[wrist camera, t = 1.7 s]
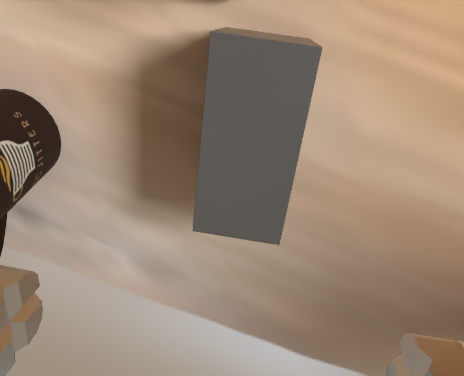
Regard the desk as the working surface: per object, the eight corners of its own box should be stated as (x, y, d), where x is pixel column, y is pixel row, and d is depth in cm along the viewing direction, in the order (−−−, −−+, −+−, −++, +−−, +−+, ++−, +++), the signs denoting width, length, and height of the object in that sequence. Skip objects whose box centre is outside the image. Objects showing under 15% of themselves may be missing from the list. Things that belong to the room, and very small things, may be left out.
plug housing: (309, 38, 22) (322, 47, 16) (277, 197, 26) (279, 244, 21) (226, 27, 22) (210, 31, 16) (208, 186, 26) (192, 230, 21)
